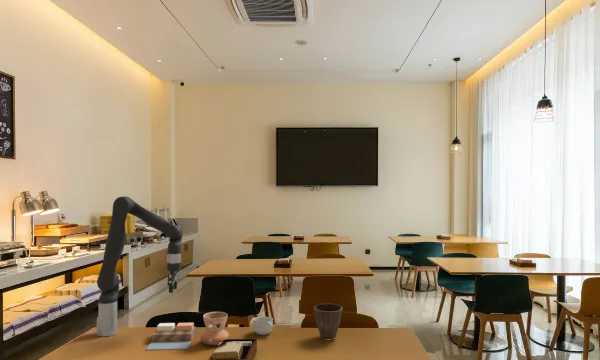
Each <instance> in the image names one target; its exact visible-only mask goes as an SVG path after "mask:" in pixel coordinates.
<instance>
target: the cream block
mask: <svg viewBox="0 0 600 360" xmlns="http://www.w3.org/2000/svg"><path fill="white" fill-rule="evenodd" d="M175 327H176V323H175V322H163V323H162V322H160V323H159V324H157V326H156V330H157V331H173V330H174V328H175Z"/></svg>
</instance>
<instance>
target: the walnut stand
mask: <svg viewBox="0 0 600 360" xmlns="http://www.w3.org/2000/svg"><path fill="white" fill-rule="evenodd" d="M196 334H197V327H196V326H194V328H193V329H192V330H185V331H176V326H175V328H174V330H173V331H157V329H156V330H155V331H153V333H152V334H151V342H181V341H191V343H192V341H193V340H194V338H195V336H196Z"/></svg>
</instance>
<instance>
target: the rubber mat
mask: <svg viewBox="0 0 600 360" xmlns="http://www.w3.org/2000/svg"><path fill="white" fill-rule="evenodd" d="M191 343H192V342H191V341H181V342H152V341H151V342H150V343H149V344H148V346H147V347H146V348H145V351H175V350H177V351H178V350H188V349H189V347H190V346H191Z"/></svg>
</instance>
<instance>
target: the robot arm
mask: <svg viewBox="0 0 600 360" xmlns="http://www.w3.org/2000/svg"><path fill="white" fill-rule="evenodd" d="M128 215H132V216H134V217H136V218H138V219H139V220H140V221H142V222H144V223H145V224H146V225H147V226H150V227H151V228H153V229H154V230H157V231H159V232H161V233H162V234H164V235H165V236H166V237H168V238H169V242H168V244H167V245H168V246H167V256H166V271H167V272H169V274H168V275H167V286H168V293H169V294H173V293H174V290H177V289H178V282H179V279H180V278H179V275H180V274H179V271H181V269H182V265H181V264H182V255H181V254H182V240H183V239H182V238H183V227H181V226H180V225H179V224H177V225H174V224H172V223H170V222H168V220H167V219H165V218H164V217H161V216H160V215H158V214H156V213H154V212H152V211H150V210H148V209H146V208H145V207H143V206H142V205H140V204H138V203H137V202H136V201H135V200H133V199H132V198H131V197H129V196H118V197H117V198H115V199H114V201H113V203H112V214H111V221H110V226H109V229H108V233H107V238H106V242H105V248H104V252H103V259H102V264H101V268H100V270H99V274H98V277H97V279H96V280H97V281H96V284H97V288H98V289H99V290H100V291H101V292H100V295H99V297H98V314H97V315H98V316H97V318H96V336H97V337H111V336H114V335H116V334H117V332H118V331H117V330H118V299H119V298H118V297H119V293H120V277H119V275H118V273H117V272H116V270H117V266H118V263H119V260H120V259H121V256H122V253H123V251H124V249H125V244H126V236H127V234H126V233H127V232H126V222H127V217H128Z"/></svg>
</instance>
